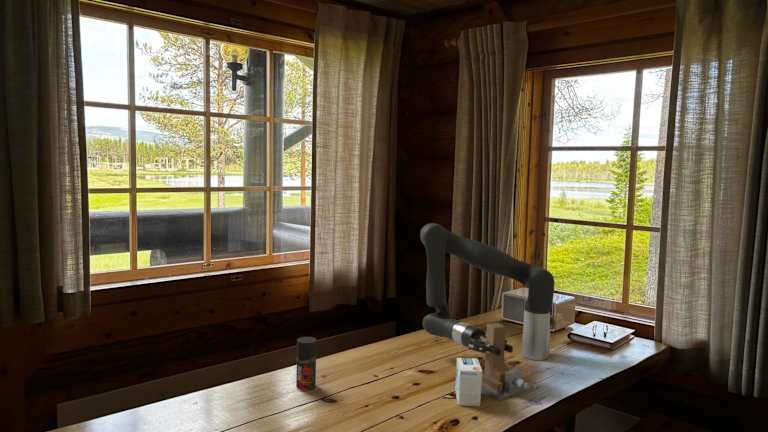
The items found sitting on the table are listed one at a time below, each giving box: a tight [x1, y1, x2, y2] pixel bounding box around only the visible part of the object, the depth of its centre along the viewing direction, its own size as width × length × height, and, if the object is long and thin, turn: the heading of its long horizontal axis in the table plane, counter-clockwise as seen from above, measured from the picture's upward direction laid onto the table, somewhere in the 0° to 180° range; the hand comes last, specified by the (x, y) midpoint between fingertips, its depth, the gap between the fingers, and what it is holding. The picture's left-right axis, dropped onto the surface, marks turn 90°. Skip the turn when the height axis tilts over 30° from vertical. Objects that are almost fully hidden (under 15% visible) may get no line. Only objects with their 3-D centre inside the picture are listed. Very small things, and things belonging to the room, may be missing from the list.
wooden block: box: [484, 322, 510, 387], centre depth 176 cm, size 9×4×18 cm, turn 21°
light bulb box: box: [454, 357, 483, 407], centre depth 166 cm, size 11×7×11 cm, turn 178°
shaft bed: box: [481, 368, 535, 401], centre depth 175 cm, size 16×16×7 cm
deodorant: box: [295, 336, 318, 392], centre depth 170 cm, size 6×6×15 cm
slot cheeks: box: [481, 369, 525, 393], centre depth 176 cm, size 12×11×2 cm
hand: (506, 351), depth 173 cm, fingers closed on wooden block, 4 cm apart
